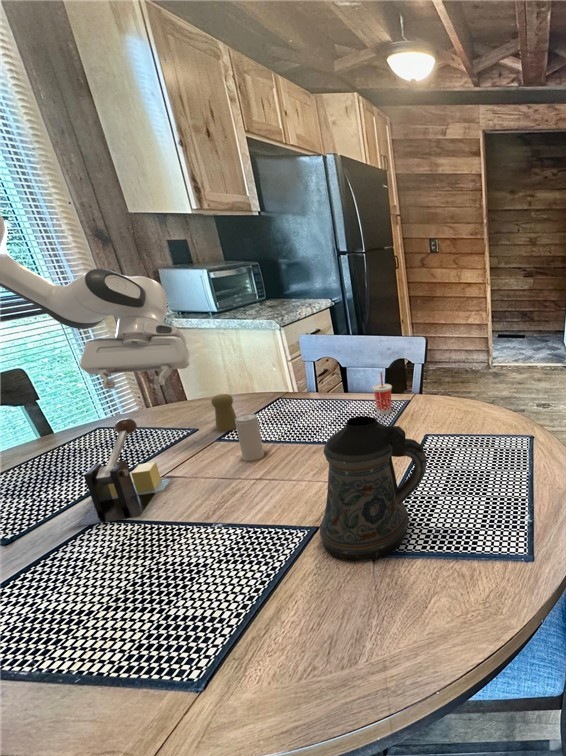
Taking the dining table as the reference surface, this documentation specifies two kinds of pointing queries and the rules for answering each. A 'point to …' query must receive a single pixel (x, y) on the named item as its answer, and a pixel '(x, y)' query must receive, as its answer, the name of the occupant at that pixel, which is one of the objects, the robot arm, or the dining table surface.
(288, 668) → the dining table surface
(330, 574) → the dining table surface
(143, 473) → the butter right
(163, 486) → the butter dish
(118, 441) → the lever
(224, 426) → the cork
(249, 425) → the beverage can
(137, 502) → the cutter
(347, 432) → the beer stein
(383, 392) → the beverage cup
